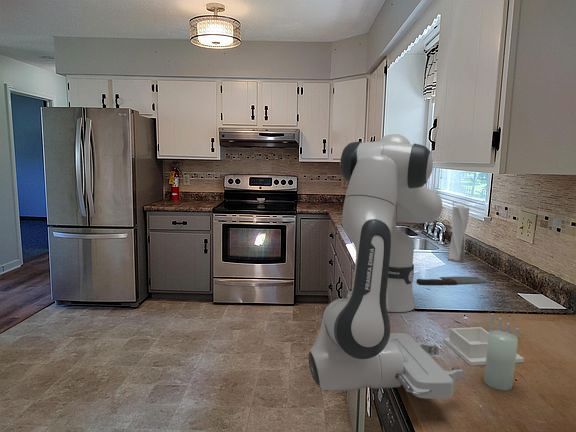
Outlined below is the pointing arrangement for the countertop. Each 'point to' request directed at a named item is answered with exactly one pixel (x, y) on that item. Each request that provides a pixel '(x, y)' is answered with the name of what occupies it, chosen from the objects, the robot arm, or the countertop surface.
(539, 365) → the countertop surface
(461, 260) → the skyscraper
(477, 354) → the dish rack
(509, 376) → the sage green cylinder
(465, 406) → the countertop surface
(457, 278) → the cleaver
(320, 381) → the robot arm
